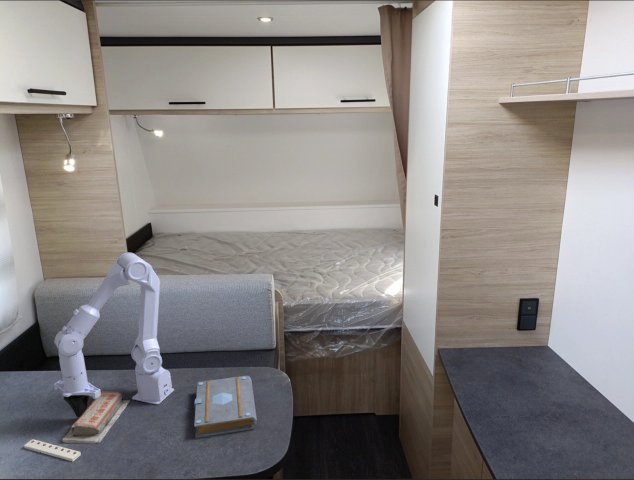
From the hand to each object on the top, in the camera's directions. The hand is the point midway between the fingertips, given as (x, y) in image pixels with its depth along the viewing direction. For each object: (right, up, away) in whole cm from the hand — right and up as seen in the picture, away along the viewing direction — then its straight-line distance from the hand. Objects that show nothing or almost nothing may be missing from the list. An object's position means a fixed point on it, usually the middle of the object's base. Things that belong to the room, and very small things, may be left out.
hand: (81, 415), depth 128 cm
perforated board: (-1, -5, -12) cm, 13 cm away
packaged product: (+5, -2, 0) cm, 5 cm away
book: (+39, 0, +4) cm, 39 cm away
